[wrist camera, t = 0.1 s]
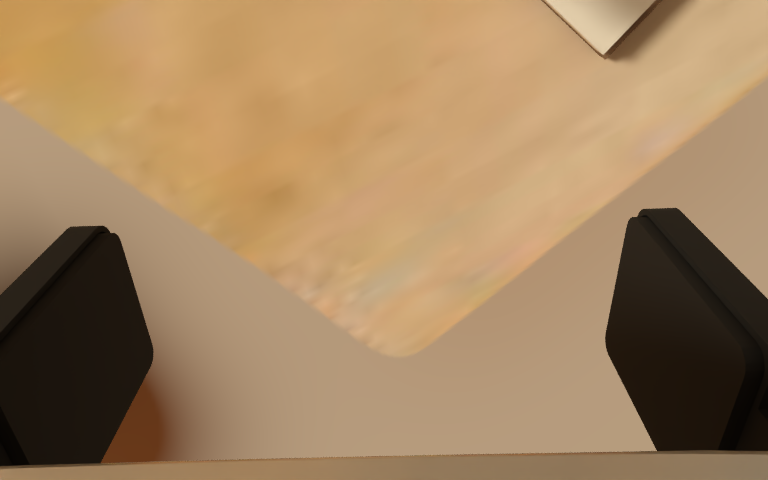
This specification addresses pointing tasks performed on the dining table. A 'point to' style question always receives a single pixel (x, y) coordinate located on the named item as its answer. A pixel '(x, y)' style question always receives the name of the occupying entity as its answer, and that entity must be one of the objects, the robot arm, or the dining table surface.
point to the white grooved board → (602, 20)
